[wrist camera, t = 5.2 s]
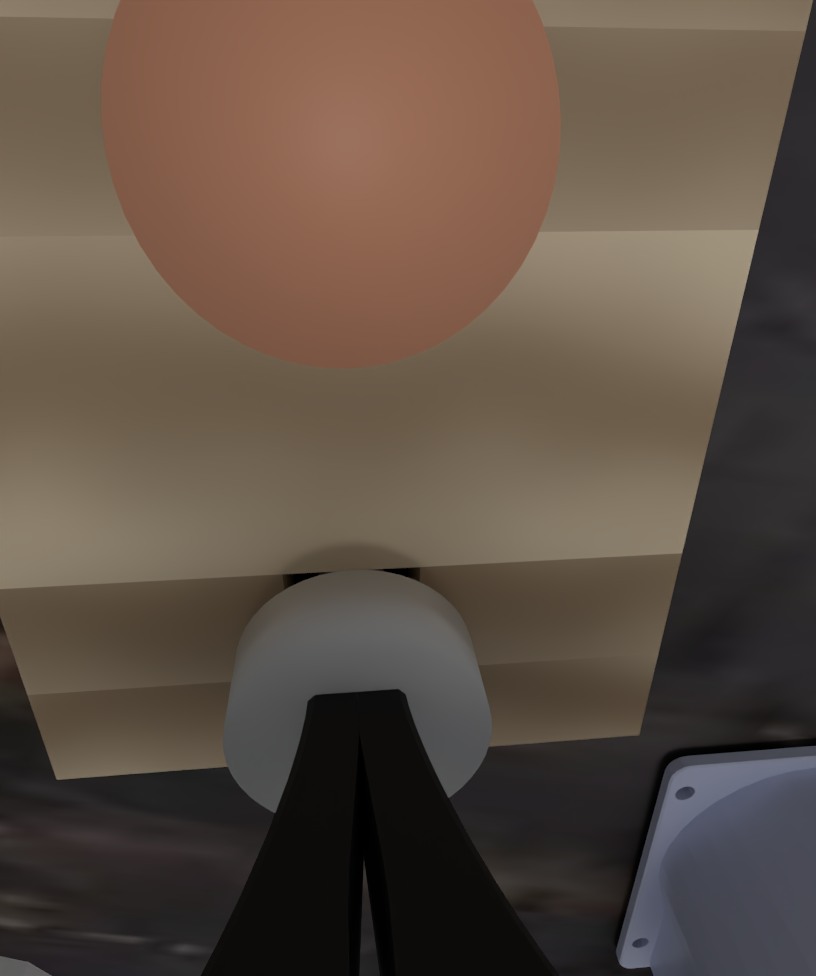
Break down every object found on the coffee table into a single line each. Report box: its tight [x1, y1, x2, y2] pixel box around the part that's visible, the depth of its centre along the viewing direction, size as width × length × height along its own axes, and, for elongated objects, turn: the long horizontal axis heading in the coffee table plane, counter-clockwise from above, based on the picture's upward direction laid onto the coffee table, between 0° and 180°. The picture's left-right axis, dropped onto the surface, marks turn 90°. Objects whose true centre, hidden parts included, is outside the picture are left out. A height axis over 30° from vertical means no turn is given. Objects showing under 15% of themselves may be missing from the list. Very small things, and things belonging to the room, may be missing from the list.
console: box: [0, 0, 813, 780], centre depth 12 cm, size 15×12×2 cm
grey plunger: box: [223, 569, 492, 813], centre depth 12 cm, size 4×4×4 cm
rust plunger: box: [101, 0, 561, 369], centre depth 8 cm, size 4×4×4 cm
